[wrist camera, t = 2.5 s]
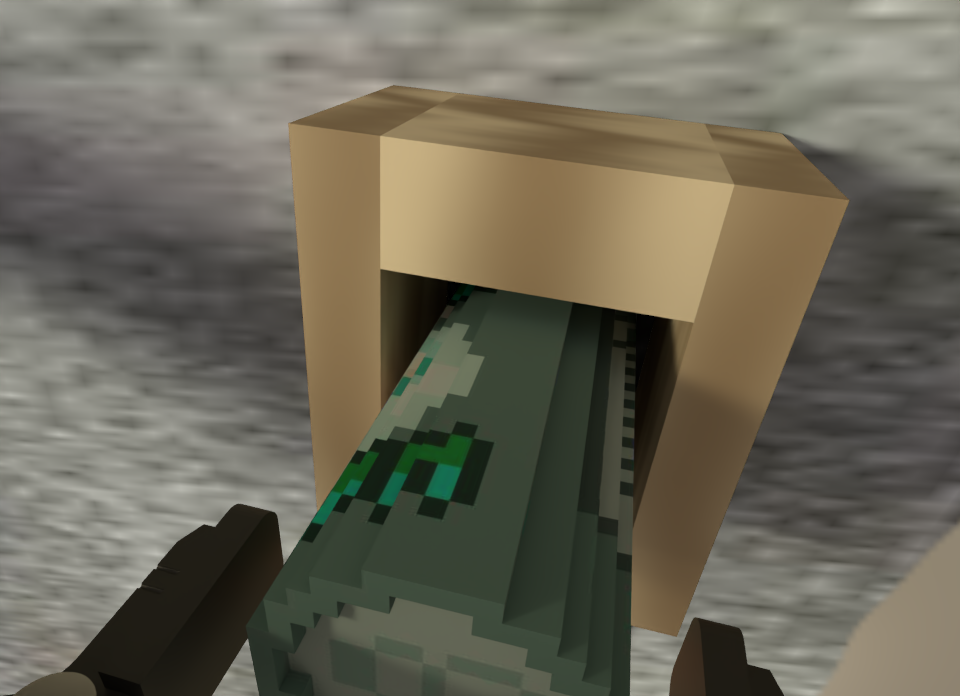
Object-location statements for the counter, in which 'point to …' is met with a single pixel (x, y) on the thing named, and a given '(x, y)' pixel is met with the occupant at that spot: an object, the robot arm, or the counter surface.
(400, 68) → the counter surface
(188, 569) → the robot arm
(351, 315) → the bore block
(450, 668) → the can
